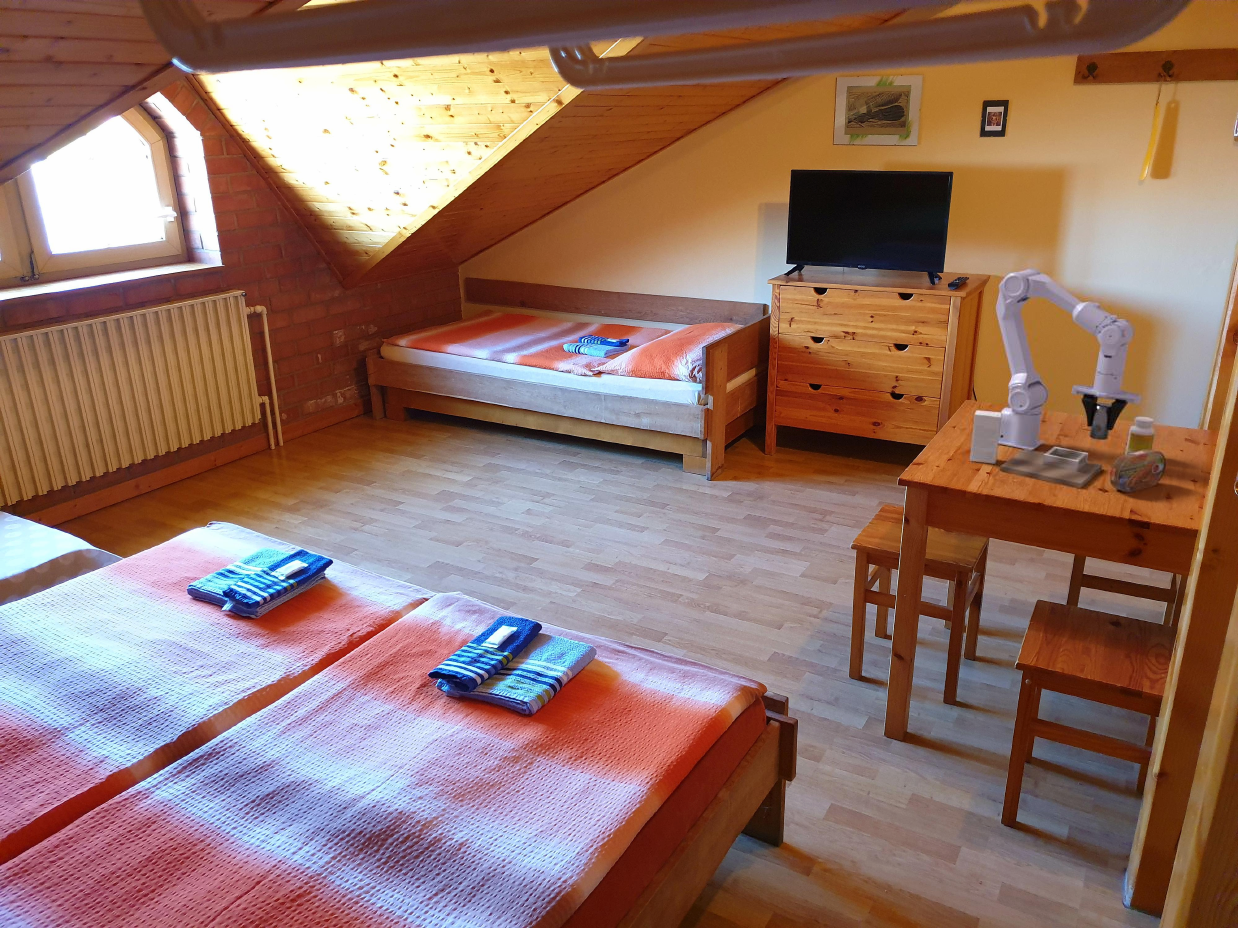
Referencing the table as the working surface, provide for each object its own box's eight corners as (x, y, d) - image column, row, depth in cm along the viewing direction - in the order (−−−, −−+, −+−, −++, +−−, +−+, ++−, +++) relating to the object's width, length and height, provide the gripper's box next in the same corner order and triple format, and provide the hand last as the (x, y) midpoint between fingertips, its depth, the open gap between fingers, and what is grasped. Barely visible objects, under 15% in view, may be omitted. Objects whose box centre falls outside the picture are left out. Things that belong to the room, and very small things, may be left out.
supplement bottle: (1153, 460, 222) (1160, 422, 218) (1129, 459, 223) (1136, 421, 219) (1145, 453, 227) (1152, 416, 223) (1122, 452, 228) (1128, 415, 224)
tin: (1116, 495, 202) (1122, 459, 199) (1104, 490, 204) (1110, 455, 201) (1163, 484, 207) (1170, 449, 204) (1151, 480, 210) (1157, 445, 207)
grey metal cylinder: (1087, 437, 220) (1092, 405, 217) (1092, 433, 223) (1097, 402, 220) (1105, 440, 217) (1110, 408, 215) (1109, 436, 220) (1115, 404, 217)
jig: (999, 470, 217) (1001, 456, 216) (1024, 453, 228) (1026, 439, 227) (1080, 488, 206) (1082, 473, 204) (1101, 469, 217) (1104, 454, 215)
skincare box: (996, 458, 225) (1002, 412, 221) (995, 464, 221) (1001, 417, 217) (970, 455, 227) (976, 409, 223) (968, 461, 224) (974, 414, 220)
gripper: (1071, 371, 216) (1062, 425, 221) (1139, 380, 207) (1128, 437, 212) (1080, 365, 221) (1072, 418, 226) (1147, 374, 212) (1136, 430, 217)
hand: (1100, 427), depth 219 cm, fingers closed on grey metal cylinder, 4 cm apart
